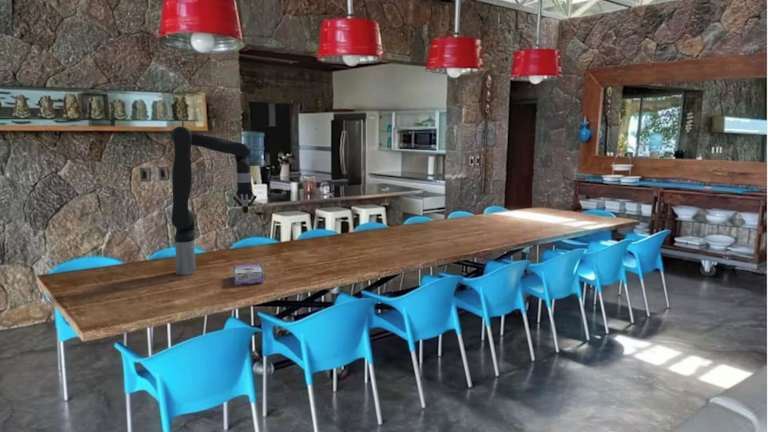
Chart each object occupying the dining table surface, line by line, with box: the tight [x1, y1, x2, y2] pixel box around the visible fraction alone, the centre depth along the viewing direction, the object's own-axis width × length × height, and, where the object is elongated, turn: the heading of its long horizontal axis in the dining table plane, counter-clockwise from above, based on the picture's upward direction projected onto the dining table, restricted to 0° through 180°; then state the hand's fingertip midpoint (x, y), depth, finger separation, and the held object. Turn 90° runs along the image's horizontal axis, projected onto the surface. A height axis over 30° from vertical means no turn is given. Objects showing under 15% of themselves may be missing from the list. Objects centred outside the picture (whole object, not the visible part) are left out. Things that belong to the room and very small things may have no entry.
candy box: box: [233, 263, 264, 286], centre depth 266 cm, size 14×6×16 cm
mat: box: [226, 275, 266, 283], centre depth 268 cm, size 18×8×1 cm, turn 99°
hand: (245, 213), depth 290 cm, fingers closed
